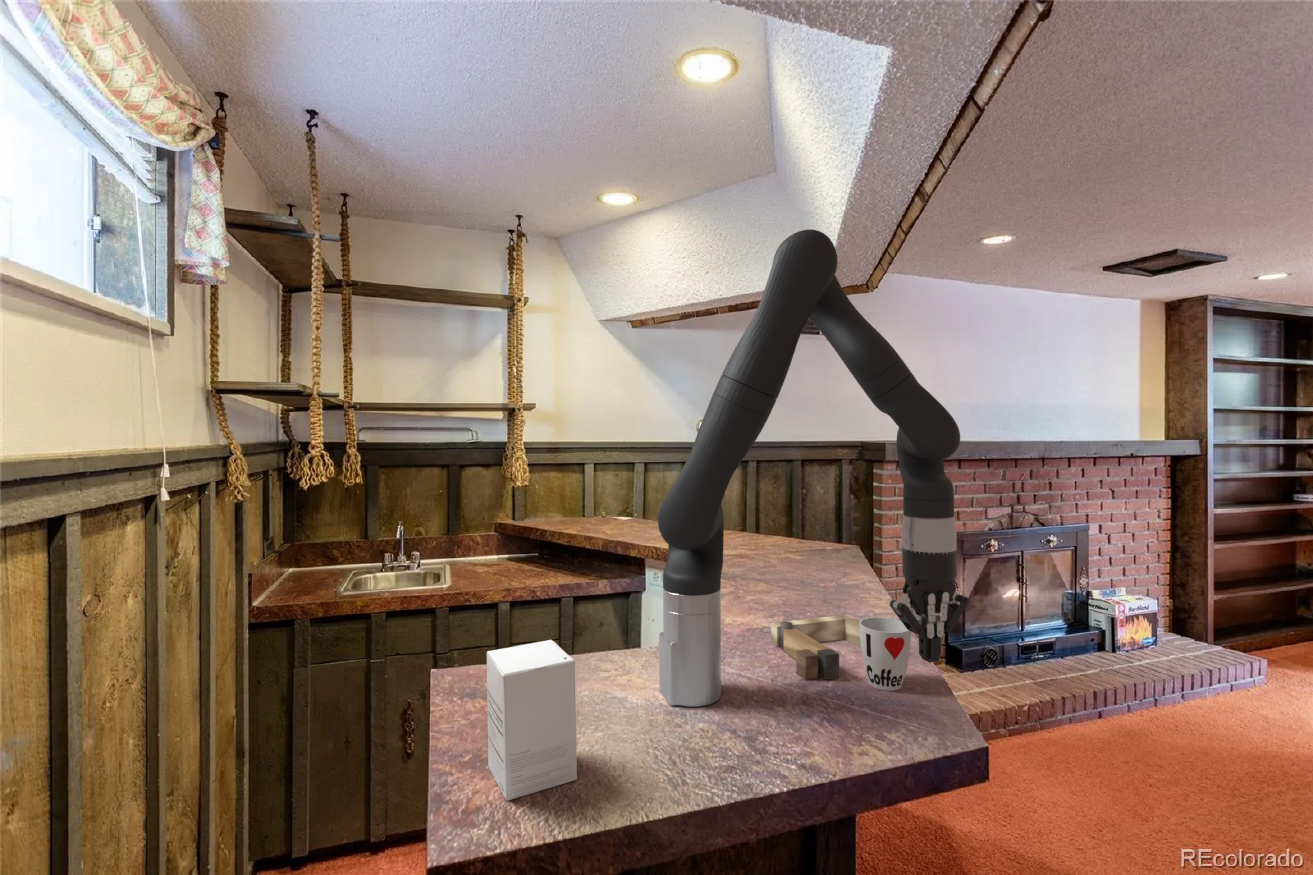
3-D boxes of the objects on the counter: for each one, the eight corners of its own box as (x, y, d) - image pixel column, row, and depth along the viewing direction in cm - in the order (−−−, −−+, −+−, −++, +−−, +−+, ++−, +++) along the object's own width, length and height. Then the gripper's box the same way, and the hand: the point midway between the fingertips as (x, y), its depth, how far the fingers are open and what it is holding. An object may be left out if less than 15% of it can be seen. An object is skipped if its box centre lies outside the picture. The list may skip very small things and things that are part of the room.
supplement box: (554, 748, 84) (553, 637, 84) (578, 781, 76) (577, 659, 76) (486, 765, 80) (485, 649, 79) (504, 803, 72) (503, 673, 72)
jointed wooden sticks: (805, 680, 106) (805, 656, 106) (757, 644, 123) (757, 624, 123) (907, 665, 112) (907, 643, 112) (848, 633, 129) (848, 614, 129)
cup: (855, 688, 102) (855, 628, 102) (863, 671, 109) (863, 614, 109) (908, 698, 98) (908, 635, 98) (913, 680, 106) (913, 621, 105)
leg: (825, 679, 105) (825, 651, 105) (777, 646, 121) (777, 622, 121) (839, 677, 106) (839, 649, 106) (789, 645, 122) (789, 620, 122)
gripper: (908, 553, 88) (910, 675, 88) (983, 546, 92) (985, 663, 92) (875, 544, 95) (877, 657, 96) (946, 538, 99) (947, 646, 100)
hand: (930, 660), depth 94 cm, fingers closed
